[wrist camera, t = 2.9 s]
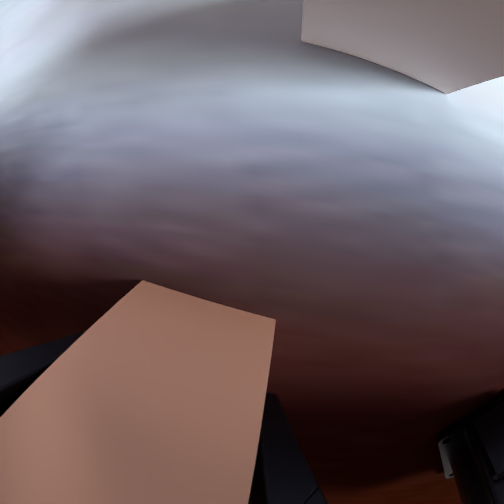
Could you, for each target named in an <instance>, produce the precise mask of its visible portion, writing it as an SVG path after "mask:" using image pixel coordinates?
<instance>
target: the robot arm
mask: <svg viewBox="0 0 504 504" xmlns="http://www.w3.org/2000/svg"><path fill="white" fill-rule="evenodd" d="M85 332H86V331H83V332H80V333H76V334H73V335H70V336H67V337H63V338H60V339H57V340H53V341H50V342H47V343H44V344H40V345H37V346H33V347H30V348H27V349H23V350H20V351H16V352H13V353H10V354H6V355H3V356H0V417H1V416H2V415H3V414H4V413H5V412H6V411H7V410H8V409H9V408H10V407H11V405H12V404H13V403H14V402H15V401H16V400H17V399H18V398H19V397H20V396H21V395H22V394H23V393H24V392H25V391H26V390H27V389H28V388H29V387H30V386H31V385H32V384H33V383H34V382H35V381H36V380H37V379H38V378H39V377H40V376H41V375H42V374H43V373H44V372H45V371H46V370H47V369H48V368H49V367H50V366H51V365H52V364H53V363H54V362H55V361H56V360H57V359H58V358H59V357H60V356H61V355H62V354H63V353H64V352H65V351H66V350H67V349H68V348H69V347H70V346H71V345H72V344H73V343H74V342H75V341H76V340H77V339H78V338H80V337H81V336H82V335H83V334H84V333H85ZM436 440H437V444H438V448H439V452H440V456H441V461H442V465H443V470H444V474H445V477H446V478H451V477H453V476H454V478H455V481H456V485H457V488H458V491H459V494H460V498H461V501H462V504H504V395H503V396H502V397H500V398H499V399H498V400H496V401H495V402H493V403H492V404H490V405H489V406H487V407H485V408H484V409H482V410H481V411H479V412H477V413H476V414H474V415H473V416H471V417H469V418H468V419H466V420H464V421H462V422H461V423H459V424H457V425H455V426H453V427H452V428H450V429H448V430H446V431H444V432H442V433H441V434H440V435H439V436H438V437H437V439H436ZM318 487H319V485H318V483H317V481H316V479H315V477H314V475H313V473H312V471H311V469H310V466H309V464H308V462H307V460H306V458H305V456H304V454H303V452H302V449H301V447H300V445H299V443H298V441H297V439H296V436H295V434H294V432H293V430H292V428H291V426H290V423H289V421H288V419H287V417H286V415H285V412H284V410H283V408H282V406H281V403H280V401H279V399H278V397H277V395H276V394H275V393H271V392H266V396H265V403H264V410H263V417H262V423H261V430H260V436H259V442H258V448H257V455H256V461H255V467H254V473H253V478H252V484H251V490H250V496H249V501H248V504H328V503H327V501H326V499H325V497H324V495H323V493H322V491H321V489H320V488H318Z"/></svg>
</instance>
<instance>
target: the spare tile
mask: <svg viewBox="0 0 504 504" xmlns="http://www.w3.org/2000/svg"><path fill="white" fill-rule="evenodd" d="M275 322H276V319H272V318H268V317H264V316H261V315H257V314H253V313H250V312H246V311H242V310H239V309H235V308H232V307H228V306H225V305H221V304H218V303H214V302H211V301H208V300H204V299H201V298H198V297H194V296H191V295H188V294H184V293H181V292H178V291H175V290H172V289H168V288H165V287H162V286H159V285H156V284H153V283H150V282H147V281H144V280H142V281H141V282H140V283H139V284H138V285H136V286H135V287H134V288H133V289H132V290H131V291H130V292H129V293H127V294H126V295H125V296H124V297H123V298H122V299H121V300H120V301H119V302H117V303H116V304H115V305H114V306H113V307H112V308H111V309H110V310H109V311H107V312H106V313H105V314H104V315H103V316H102V317H101V318H100V319H99V320H98V321H97V322H96V323H94V324H93V325H92V326H91V327H90V328H89V329H88V330H87V331H86V332H85V333H84V334H83V335H82V336H81V337H80V338H78V339H77V340H76V341H75V342H74V343H73V344H72V345H71V346H70V347H69V348H68V349H67V350H66V351H65V352H64V353H63V354H62V355H61V356H60V357H59V358H58V359H57V360H56V361H55V362H54V363H53V364H52V365H51V366H50V367H49V368H48V369H47V370H46V371H45V372H44V373H43V374H42V375H41V376H40V377H39V378H38V379H37V380H36V381H35V382H34V383H33V384H32V385H31V386H30V387H29V388H28V389H27V390H26V391H25V392H24V393H23V394H22V395H21V396H20V397H19V398H18V399H17V400H16V401H15V402H14V403H13V404H12V405H11V407H10V408H9V409H8V410H7V411H6V412H5V413H4V414H3V415H2V416H1V417H0V504H248V501H249V496H250V490H251V484H252V478H253V473H254V467H255V461H256V455H257V448H258V442H259V436H260V430H261V423H262V417H263V410H264V403H265V396H266V389H267V382H268V375H269V368H270V361H271V353H272V346H273V338H274V330H275Z"/></svg>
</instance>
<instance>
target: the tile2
mask: <svg viewBox="0 0 504 504" xmlns="http://www.w3.org/2000/svg"><path fill="white" fill-rule="evenodd" d="M301 41H302V42H306V43H310V44H314V45H318V46H322V47H326V48H330V49H333V50H337V51H340V52H343V53H347V54H350V55H353V56H356V57H359V58H362V59H365V60H368V61H371V62H374V63H377V64H379V65H382V66H385V67H387V68H390V69H392V70H395V71H397V72H400V73H402V74H405V75H407V76H409V77H412V78H414V79H416V80H418V81H421V82H423V83H425V84H427V85H429V86H431V87H433V88H435V89H437V90H439V91H441V92H443V93H445V94H449V93H451V92H454V91H457V90H460V89H463V88H466V87H469V86H472V85H475V84H479V83H482V82H485V81H488V80H491V79H495V78H498V77H501V76H504V0H303V16H302V35H301Z"/></svg>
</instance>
